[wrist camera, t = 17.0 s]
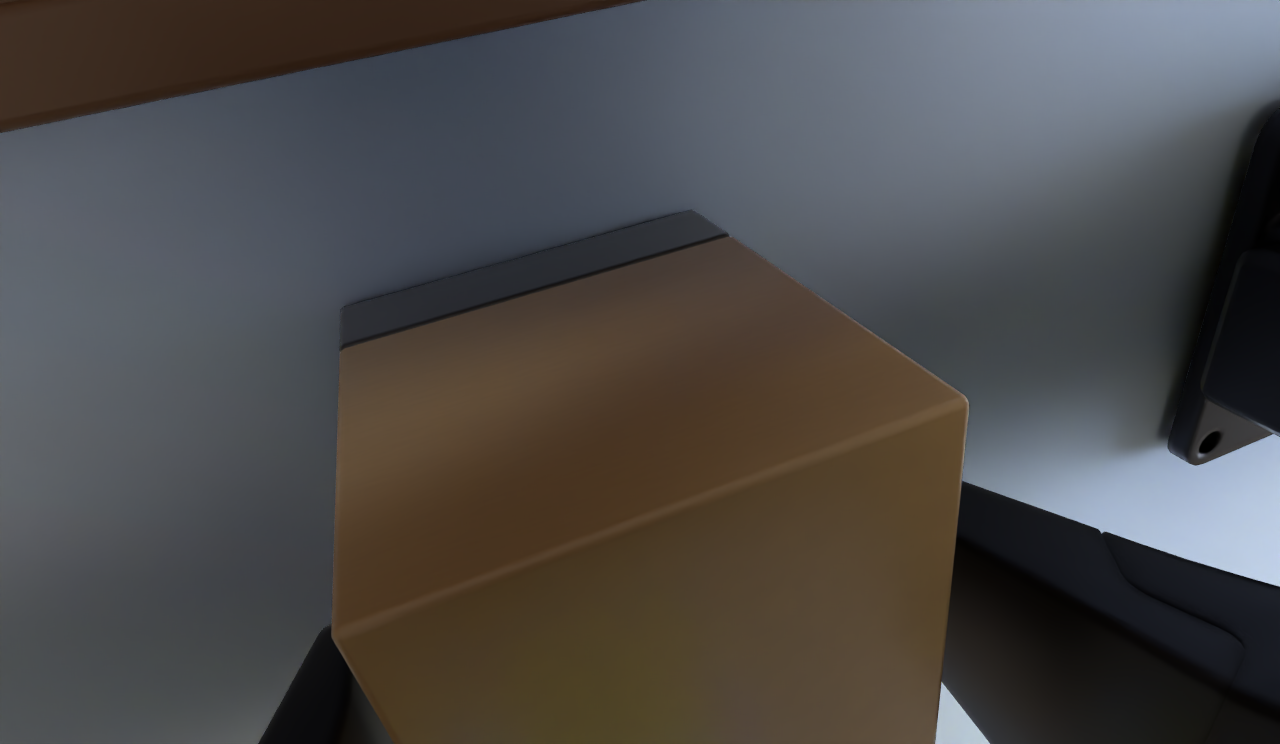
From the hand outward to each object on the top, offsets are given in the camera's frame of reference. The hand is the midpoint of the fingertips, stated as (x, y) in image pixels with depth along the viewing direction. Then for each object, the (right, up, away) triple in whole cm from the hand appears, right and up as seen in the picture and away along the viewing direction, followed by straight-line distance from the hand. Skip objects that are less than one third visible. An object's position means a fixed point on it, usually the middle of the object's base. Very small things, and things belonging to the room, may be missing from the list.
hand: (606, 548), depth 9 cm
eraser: (0, 0, 0) cm, 1 cm away
